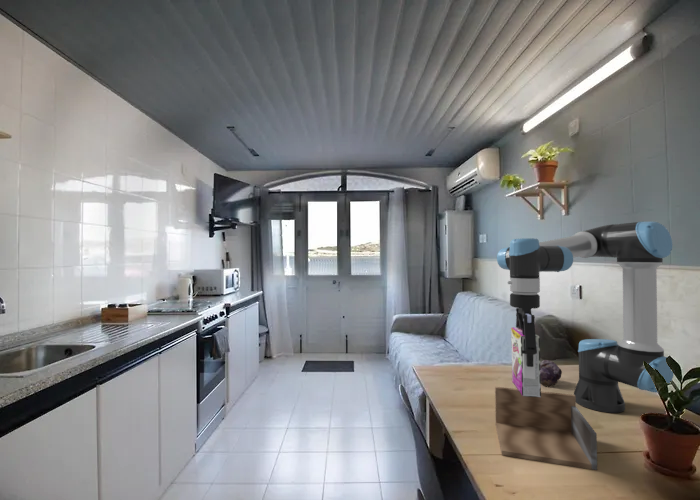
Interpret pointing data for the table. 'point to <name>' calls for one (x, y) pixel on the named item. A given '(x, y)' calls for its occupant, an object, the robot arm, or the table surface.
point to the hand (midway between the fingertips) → (525, 371)
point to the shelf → (544, 428)
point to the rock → (549, 373)
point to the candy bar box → (522, 384)
